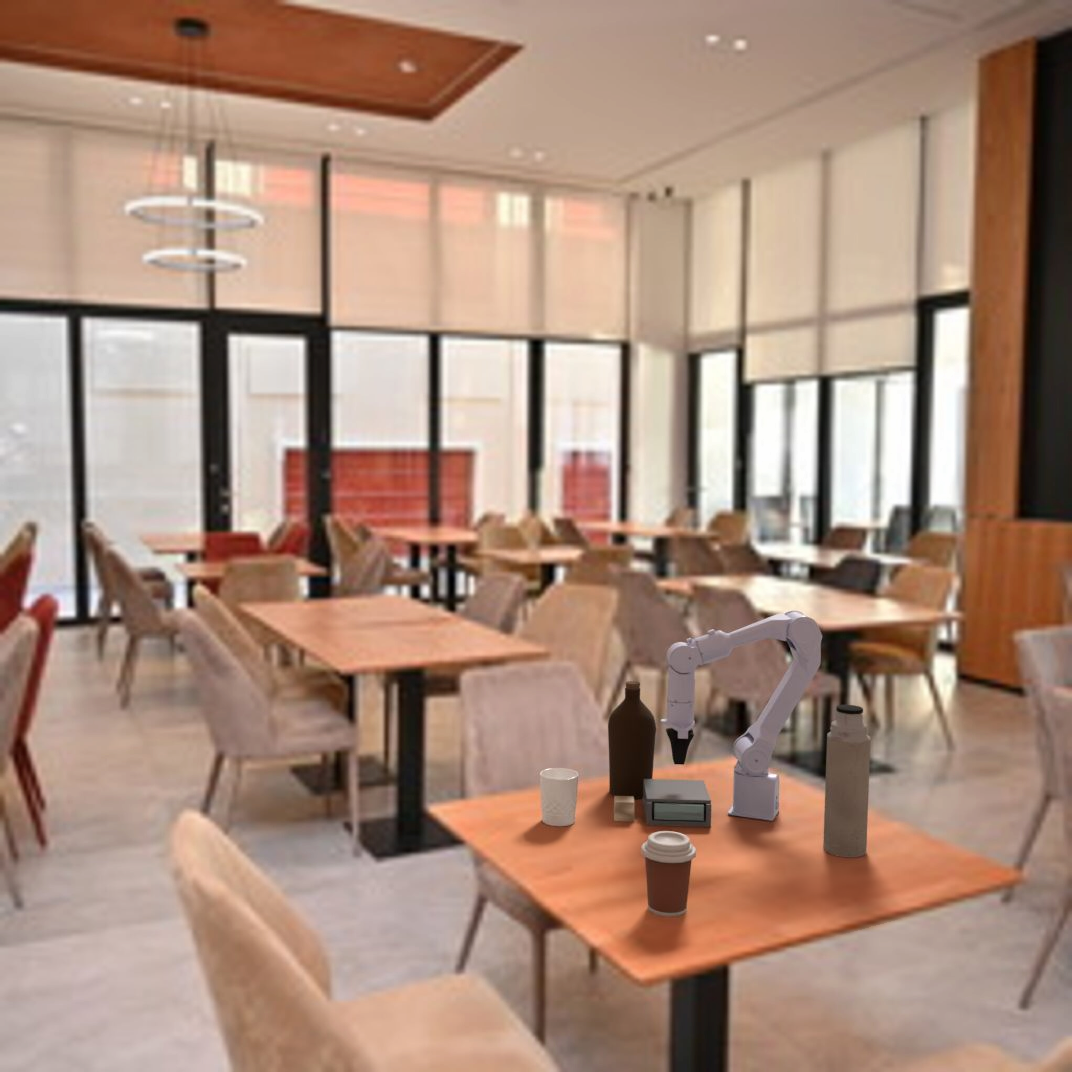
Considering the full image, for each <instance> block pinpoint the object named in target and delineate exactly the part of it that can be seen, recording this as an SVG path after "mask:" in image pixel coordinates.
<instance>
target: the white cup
mask: <svg viewBox="0 0 1072 1072" xmlns="http://www.w3.org/2000/svg"><path fill="white" fill-rule="evenodd" d="M539 782H540V785H539V786H540V787H539V788H540V789H539V790H540V804H541V805H540V808H541V816H542V817H541V819H542V822H543V824H545V825H548V826H552V827H568V826H571V825H572V824H574V823H575V821H576V809H577V803H578V787H579V772H577V771H576V770H575V769H570V768H563V767H553V768H547V769H543V770H541V771H540V772H539Z"/></svg>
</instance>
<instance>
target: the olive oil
mask: <svg viewBox="0 0 1072 1072" xmlns="http://www.w3.org/2000/svg"><path fill="white" fill-rule="evenodd" d="M640 687H641V683H640V681H637V680H636V681H635V680H628V681H626V682H625V688H624V699H623V700H622V701H621V702H620V704H619V705H617V707H616V708H614V710H612V712H611V714H610V716H609V719H608V722H607V735H608V736H607V737H608V738H607V739H608V764H609V765H608V766H609V767H608V768H609V769H608V770H609V771H608V772H609V775H608V776H609V780H608V781H609V793H610V794H611V795H612V796H634V800H639V799H643V779H653V777H654V776H653V775H654V773H653V772H654V760H655V745H656V733H657V723H656V720H655V719H656V718H655V716H654V714H653V713H652V712H651V710H650V709H649V708H648V707H647V705H646V704H644V702H643V701H642V700H641V688H640Z"/></svg>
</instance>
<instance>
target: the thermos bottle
mask: <svg viewBox="0 0 1072 1072" xmlns="http://www.w3.org/2000/svg"><path fill="white" fill-rule="evenodd" d="M863 713H864V708H863V707H861V706H859V705H853V704H840V705H839V704H838V705H837V706H836V715H835V716H836V717H835V718H836V719H835V720H833V721H832V722H831V723H830V725H831V726H830V728H829V729H830V731H829V732H827V735H826V757H825V759H826V761H825V784H824V785H825V786H824V787H825V791H824V817H823V819H824V820H823V842H822V843H823V844H822V845H823V846H822V847H823V850H824V851H825V852H826V853H828V854H831V855H832V856H837V857H843V858H860V857H863V856H865V855H866V853H867V848H868V847H867V845H868V843H867V842H868V821H869V819H868V818H869V817H868V816H869V815H868V814H869V813H868V812H869V792H870V791H869V789H870V766H871V765H870V763H871V762H870V761H871V740H872V739H871V736H869V735H868V731H869V729H868V725H867V723H865V722H863V721H864V720H863V719H864V715H863Z"/></svg>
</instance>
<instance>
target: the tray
mask: <svg viewBox="0 0 1072 1072" xmlns="http://www.w3.org/2000/svg"><path fill="white" fill-rule="evenodd" d="M652 810H653V815H654V819H666V820H701V821H704V804H701V803H691V804H672V803H664V802H652Z"/></svg>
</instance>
